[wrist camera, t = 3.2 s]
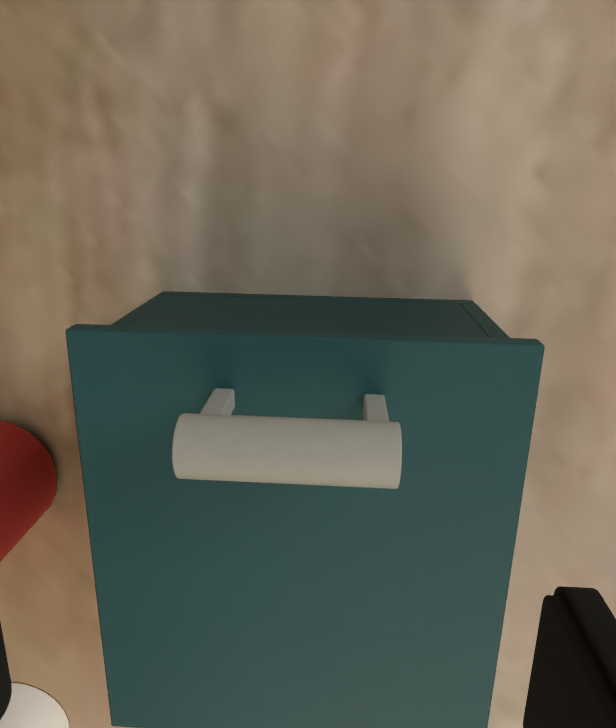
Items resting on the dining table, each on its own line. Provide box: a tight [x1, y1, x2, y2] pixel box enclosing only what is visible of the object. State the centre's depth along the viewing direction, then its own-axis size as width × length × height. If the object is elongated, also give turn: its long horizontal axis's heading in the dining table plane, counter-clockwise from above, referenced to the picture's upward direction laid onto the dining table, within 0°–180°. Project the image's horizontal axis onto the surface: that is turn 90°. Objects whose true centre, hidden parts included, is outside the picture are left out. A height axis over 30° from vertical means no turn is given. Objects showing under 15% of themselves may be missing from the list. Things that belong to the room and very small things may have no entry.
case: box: [112, 292, 510, 338], centre depth 27 cm, size 17×16×10 cm
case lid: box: [66, 324, 544, 728], centre depth 20 cm, size 17×16×5 cm
